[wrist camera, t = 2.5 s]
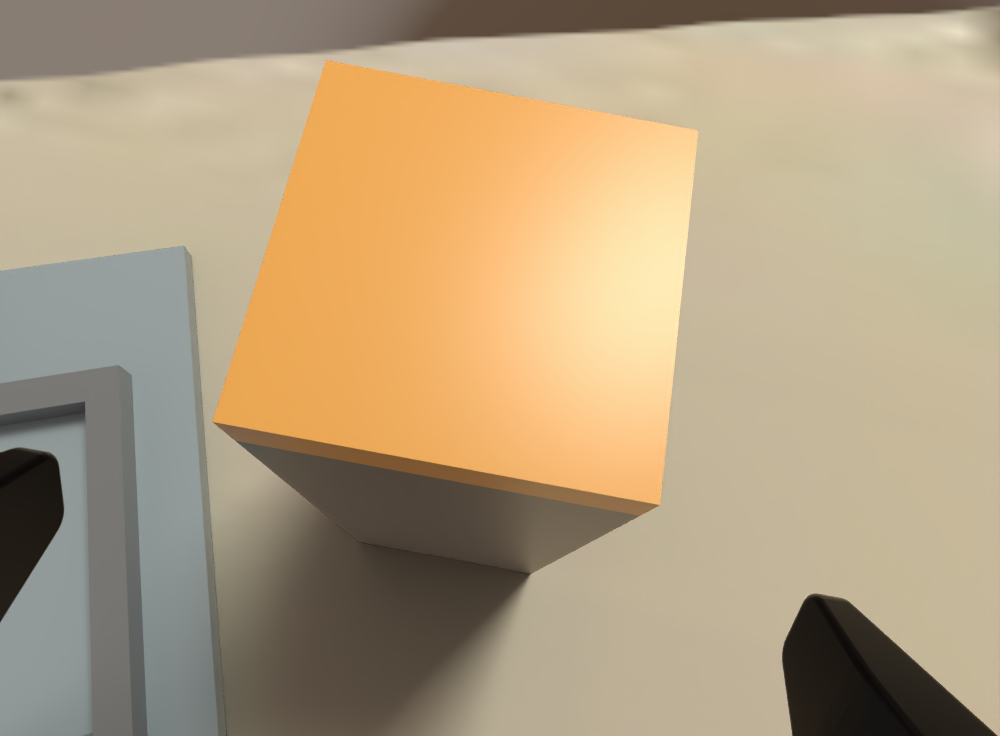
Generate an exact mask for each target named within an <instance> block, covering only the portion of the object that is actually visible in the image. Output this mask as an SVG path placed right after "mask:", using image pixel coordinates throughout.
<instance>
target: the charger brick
mask: <svg viewBox="0 0 1000 736" xmlns="http://www.w3.org/2000/svg"><path fill="white" fill-rule="evenodd" d="M697 137H698V130H693V129H688V128H682V127H677V126H672V125H666V124H661V123H656V122H651V121H645V120H640V119H635V118H629V117H624V116H619V115H613V114H608V113H603V112H597V111H592V110H587V109H582V108H576V107H571V106H566V105H560V104H555V103H550V102H544V101H539V100H534V99H528V98H523V97H518V96H513V95H507V94H502V93H497V92H491V91H486V90H481V89H475V88H470V87H465V86H459V85H454V84H449V83H444V82H438V81H433V80H428V79H422V78H417V77H412V76H406V75H401V74H396V73H390V72H385V71H380V70H375V69H369V68H364V67H359V66H353V65H348V64H343V63H337V62H332V61H327V60H326V62H325V65H324V68H323V71H322V74H321V78H320V81H319V84H318V87H317V90H316V93H315V97H314V100H313V103H312V106H311V109H310V113H309V116H308V119H307V122H306V125H305V129H304V132H303V135H302V138H301V141H300V145H299V148H298V151H297V154H296V157H295V160H294V164H293V167H292V170H291V173H290V176H289V180H288V183H287V186H286V189H285V192H284V196H283V199H282V202H281V205H280V208H279V211H278V215H277V218H276V221H275V224H274V227H273V231H272V234H271V237H270V240H269V243H268V247H267V250H266V253H265V256H264V259H263V262H262V266H261V269H260V272H259V275H258V278H257V282H256V285H255V288H254V291H253V294H252V298H251V301H250V304H249V307H248V310H247V313H246V317H245V320H244V323H243V326H242V329H241V333H240V336H239V339H238V342H237V345H236V349H235V352H234V355H233V358H232V361H231V365H230V368H229V371H228V374H227V377H226V380H225V384H224V387H223V390H222V393H221V396H220V400H219V403H218V406H217V409H216V412H215V416H214V419H213V423H214V424H216V425H217V426H218V427H219V428H221V429H222V430H223V431H224V432H225V433H227V434H228V435H229V436H230V437H231V438H233V439H234V440H235V441H236V442H238V443H239V444H240V445H241V446H242V447H244V448H245V449H246V450H247V451H249V452H250V453H251V454H252V455H253V456H255V457H256V458H257V459H258V460H259V461H261V462H262V463H263V464H264V465H266V466H267V467H268V468H269V469H270V470H272V471H273V472H274V473H275V474H277V475H278V476H279V477H280V478H281V479H283V480H284V481H285V482H286V483H287V484H289V485H290V486H291V487H292V488H294V489H295V490H296V491H297V492H298V493H300V494H301V495H302V496H303V497H305V498H306V499H307V500H308V501H309V502H311V503H312V504H313V505H314V506H315V507H317V508H318V509H319V510H320V511H322V512H323V513H324V514H325V515H326V516H328V517H329V518H330V519H331V520H332V521H334V522H335V523H336V524H337V525H339V526H340V527H341V528H342V529H343V530H345V531H346V532H347V533H348V534H350V535H351V536H352V537H353V538H354V539H356V540H357V541H358V542H362V543H368V544H373V545H378V546H384V547H389V548H395V549H400V550H405V551H411V552H416V553H422V554H427V555H432V556H438V557H443V558H449V559H454V560H459V561H465V562H470V563H476V564H481V565H486V566H492V567H497V568H503V569H508V570H513V571H519V572H524V573H530V574H531V573H533V572H535V571H537V570H539V569H541V568H543V567H545V566H546V565H548V564H550V563H552V562H554V561H556V560H558V559H560V558H561V557H563V556H565V555H567V554H569V553H571V552H573V551H575V550H576V549H578V548H580V547H582V546H584V545H586V544H588V543H590V542H591V541H593V540H595V539H597V538H599V537H601V536H603V535H605V534H607V533H608V532H610V531H612V530H614V529H616V528H618V527H620V526H622V525H623V524H625V523H627V522H629V521H631V520H633V519H635V518H637V517H638V516H640V515H642V514H644V513H646V512H648V511H650V510H652V509H653V508H655V507H657V506H659V505H660V500H661V491H662V481H663V471H664V461H665V451H666V441H667V432H668V422H669V412H670V402H671V392H672V382H673V373H674V363H675V353H676V343H677V333H678V324H679V314H680V304H681V294H682V284H683V274H684V265H685V255H686V245H687V235H688V225H689V215H690V206H691V196H692V186H693V176H694V166H695V156H696V147H697Z"/></svg>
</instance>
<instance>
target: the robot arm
mask: <svg viewBox="0 0 1000 736" xmlns="http://www.w3.org/2000/svg"><path fill="white" fill-rule="evenodd" d="M63 517H64V500H63V492H62V484H61V476H60V468H59V463H58V460H57V458H56V457H55V455H53V454H52V453H50V452H46V451H40V450H35V449H30V448H23V447H16V448H12V449H9V450H6V451H3V452H0V622H1V621H2V619H3V618H4V616H5V614H6V613H7V611H8V610H9V608H10V606H11V605H12V603H13V602H14V600H15V598H16V597H17V595H18V594H19V592H20V591H21V589H22V587H23V586H24V584H25V583H26V581H27V579H28V578H29V576H30V575H31V573H32V571H33V570H34V568H35V567H36V565H37V563H38V562H39V560H40V559H41V557H42V555H43V554H44V552H45V551H46V549H47V547H48V546H49V544H50V543H51V541H52V540H53V538H54V536H55V535H56V533H57V532H58V530H59V528H60V526H61V523H62V520H63ZM782 663H783V671H784V678H785V685H786V692H787V700H788V707H789V714H790V721H791V729H792V736H997V735H996V734H995V733H994V732H993V731H992V730H991V729H990V728H988V727H987V726H986V725H985V724H984V723H983V722H982V721H981V720H980V719H979V718H977V717H976V716H975V715H974V714H973V713H972V712H971V711H970V710H969V709H967V708H966V707H965V706H964V705H963V704H962V703H961V702H960V701H959V700H957V699H956V698H955V697H954V696H953V695H952V694H951V693H950V692H949V691H947V690H946V689H945V688H944V687H943V686H942V685H941V684H940V683H939V682H938V681H936V680H935V679H934V678H933V677H932V676H931V675H930V674H929V673H928V672H926V671H925V670H924V669H923V668H922V667H921V666H920V665H919V664H918V663H916V662H915V661H914V660H913V659H912V658H911V657H910V656H909V655H908V654H906V653H905V652H904V651H903V650H902V649H901V648H900V647H899V646H898V645H897V644H895V643H894V642H893V641H892V640H891V639H890V638H889V637H888V636H887V635H885V634H884V633H883V632H882V631H881V630H880V629H879V628H878V627H877V626H875V625H874V624H873V623H872V622H871V621H870V620H869V619H868V618H867V617H865V616H864V615H863V614H862V613H861V612H860V611H859V610H858V609H857V608H856V607H854V606H853V605H852V604H851V603H850V602H849V601H847V600H845V599H842V598H838V597H833V596H827V595H822V594H811V595H809V596H808V597H807V598H806V599H805V600H804V602H803V604H802V606H801V608H800V610H799V612H798V614H797V616H796V619H795V621H794V623H793V625H792V627H791V629H790V631H789V633H788V635H787V638H786V640H785V642H784V646H783V652H782Z"/></svg>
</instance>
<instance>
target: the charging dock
mask: <svg viewBox="0 0 1000 736" xmlns="http://www.w3.org/2000/svg"><path fill="white" fill-rule="evenodd" d="M16 447H23V448H30V449H35V450H40V451H46V452H50V453H52V454H53V455H55V457H56V458H57V460H58V463H59V468H60V476H61V484H62V492H63V500H64V517H63V520H62V523H61V526H60V528H59V530H58V532H57V533H56V535H55V536H54V538H53V540H52V541H51V543H50V544H49V546H48V547H47V549H46V551H45V552H44V554H43V555H42V557H41V559H40V560H39V562H38V563H37V565H36V567H35V568H34V570H33V571H32V573H31V575H30V576H29V578H28V579H27V581H26V583H25V584H24V586H23V587H22V589H21V591H20V592H19V594H18V595H17V597H16V598H15V600H14V602H13V603H12V605H11V606H10V608H9V610H8V611H7V613H6V614H5V616H4V618H3V619H2V621H1V622H0V736H227V735H226V722H225V708H224V695H223V681H222V667H221V654H220V640H219V626H218V613H217V599H216V585H215V572H214V558H213V545H212V531H211V517H210V504H209V490H208V476H207V463H206V449H205V435H204V422H203V408H202V395H201V381H200V367H199V354H198V340H197V326H196V313H195V299H194V285H193V272H192V258H191V255H190V253H189V252H188V251H187V249H186V248H185V246H178V247H171V248H164V249H156V250H149V251H142V252H135V253H127V254H120V255H113V256H106V257H98V258H91V259H84V260H76V261H69V262H62V263H55V264H47V265H40V266H33V267H26V268H18V269H11V270H4V271H0V452H3V451H6V450H9V449H12V448H16Z"/></svg>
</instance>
